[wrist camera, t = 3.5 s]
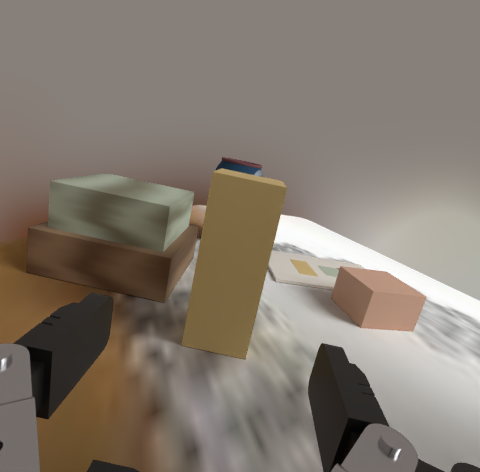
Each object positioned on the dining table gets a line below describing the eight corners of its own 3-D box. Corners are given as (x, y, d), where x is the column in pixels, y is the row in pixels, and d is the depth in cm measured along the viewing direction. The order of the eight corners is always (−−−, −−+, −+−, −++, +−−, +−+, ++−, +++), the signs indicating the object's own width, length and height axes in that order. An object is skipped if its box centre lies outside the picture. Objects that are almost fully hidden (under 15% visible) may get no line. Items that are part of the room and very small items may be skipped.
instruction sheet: (359, 266, 50) (359, 264, 50) (400, 299, 40) (401, 297, 40) (259, 250, 48) (260, 248, 48) (275, 281, 37) (276, 278, 37)
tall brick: (247, 325, 27) (282, 181, 24) (245, 359, 22) (287, 187, 19) (194, 313, 27) (221, 168, 24) (181, 345, 22) (213, 171, 19)
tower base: (193, 258, 39) (204, 192, 37) (164, 302, 27) (178, 211, 25) (96, 236, 39) (102, 171, 37) (26, 272, 27) (29, 179, 25)
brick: (375, 303, 38) (386, 272, 37) (412, 333, 32) (426, 297, 31) (330, 299, 36) (340, 266, 35) (360, 329, 30) (373, 291, 29)
